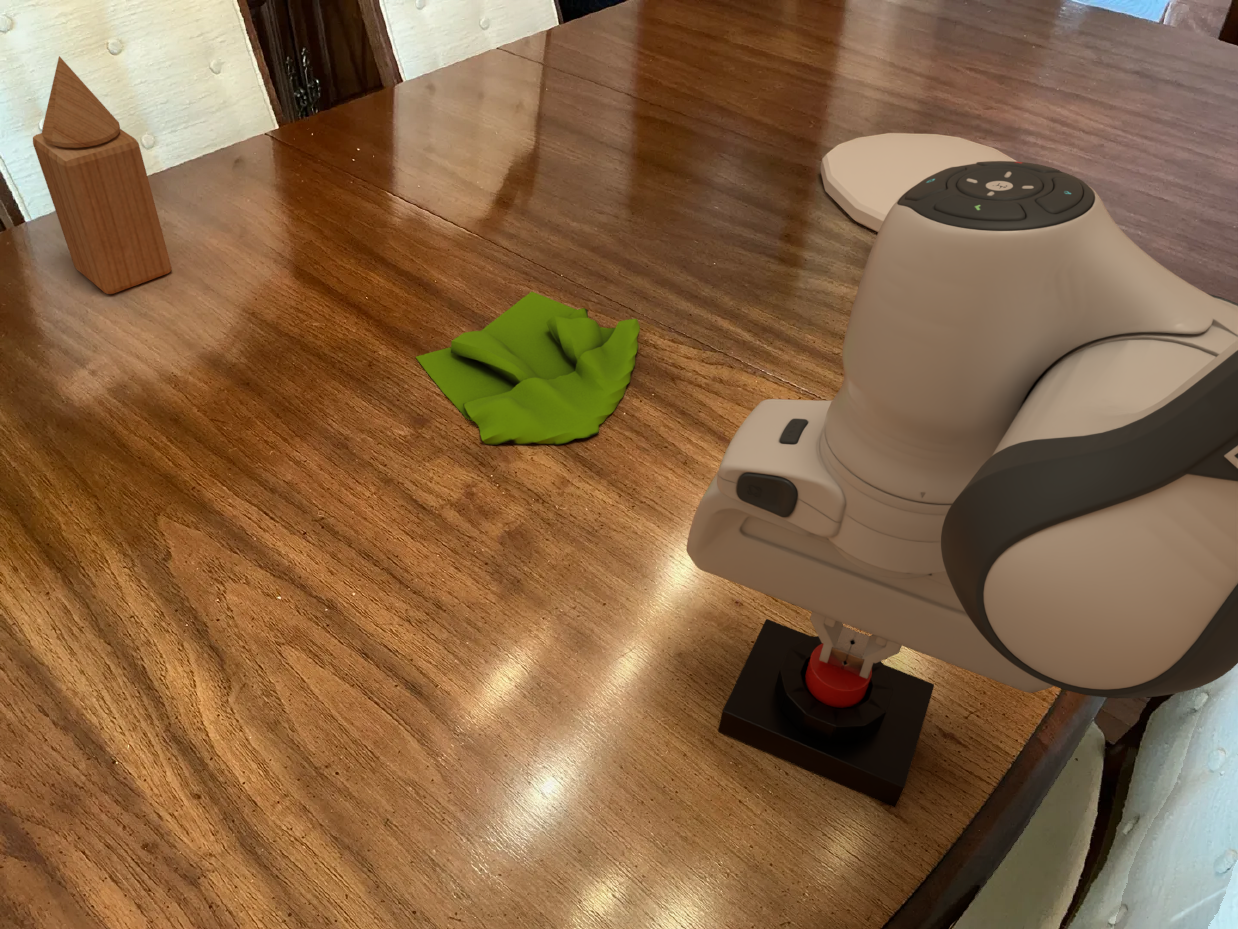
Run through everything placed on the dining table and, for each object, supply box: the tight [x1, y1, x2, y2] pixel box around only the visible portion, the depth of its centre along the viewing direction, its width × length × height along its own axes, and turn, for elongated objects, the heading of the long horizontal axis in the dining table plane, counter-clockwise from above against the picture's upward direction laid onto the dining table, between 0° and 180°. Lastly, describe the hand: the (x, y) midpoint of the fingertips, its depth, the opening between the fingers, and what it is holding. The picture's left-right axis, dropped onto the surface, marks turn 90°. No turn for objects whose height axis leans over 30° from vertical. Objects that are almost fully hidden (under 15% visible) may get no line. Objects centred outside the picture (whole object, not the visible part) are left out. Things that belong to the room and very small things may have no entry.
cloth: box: [415, 291, 641, 446], centre depth 88 cm, size 20×22×2 cm
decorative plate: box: [819, 132, 1018, 233], centre depth 116 cm, size 25×4×25 cm
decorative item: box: [32, 55, 172, 295], centre depth 89 cm, size 7×7×20 cm
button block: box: [717, 618, 935, 808], centre depth 62 cm, size 11×8×4 cm
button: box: [805, 644, 872, 708], centre depth 60 cm, size 4×4×2 cm
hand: (846, 661), depth 59 cm, fingers closed
